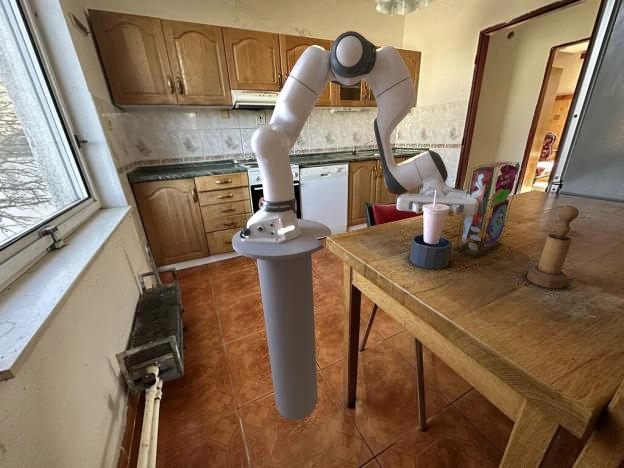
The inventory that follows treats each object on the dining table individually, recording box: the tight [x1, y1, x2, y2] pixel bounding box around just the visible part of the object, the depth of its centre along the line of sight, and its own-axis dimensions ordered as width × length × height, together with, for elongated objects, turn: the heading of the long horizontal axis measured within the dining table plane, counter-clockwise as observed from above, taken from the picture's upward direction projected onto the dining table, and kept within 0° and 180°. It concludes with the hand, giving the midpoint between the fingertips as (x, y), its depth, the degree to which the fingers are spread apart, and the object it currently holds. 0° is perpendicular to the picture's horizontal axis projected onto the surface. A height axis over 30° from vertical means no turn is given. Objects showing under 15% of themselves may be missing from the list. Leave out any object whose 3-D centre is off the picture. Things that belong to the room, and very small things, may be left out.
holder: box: [409, 233, 453, 270], centre depth 70 cm, size 10×10×6 cm
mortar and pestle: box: [526, 205, 580, 290], centre depth 56 cm, size 7×6×18 cm
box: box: [456, 161, 521, 258], centre depth 76 cm, size 25×6×24 cm, turn 125°
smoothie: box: [422, 190, 450, 244], centre depth 67 cm, size 6×6×14 cm
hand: (435, 212), depth 65 cm, fingers closed on smoothie, 6 cm apart
